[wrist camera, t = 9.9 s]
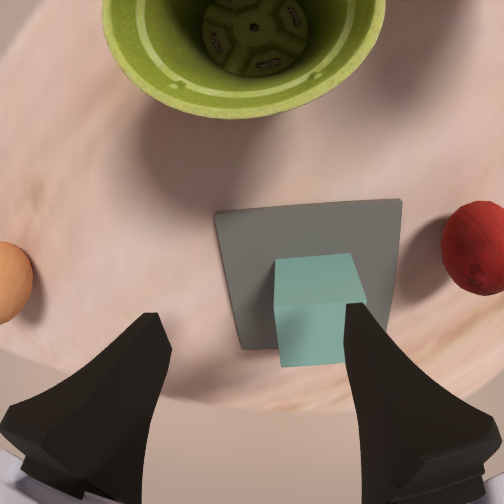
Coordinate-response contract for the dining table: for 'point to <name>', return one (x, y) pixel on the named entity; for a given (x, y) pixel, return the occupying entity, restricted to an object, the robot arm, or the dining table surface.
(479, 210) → the onion
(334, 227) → the mat
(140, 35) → the plant pot
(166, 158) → the dining table surface
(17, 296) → the egg
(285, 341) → the cube
